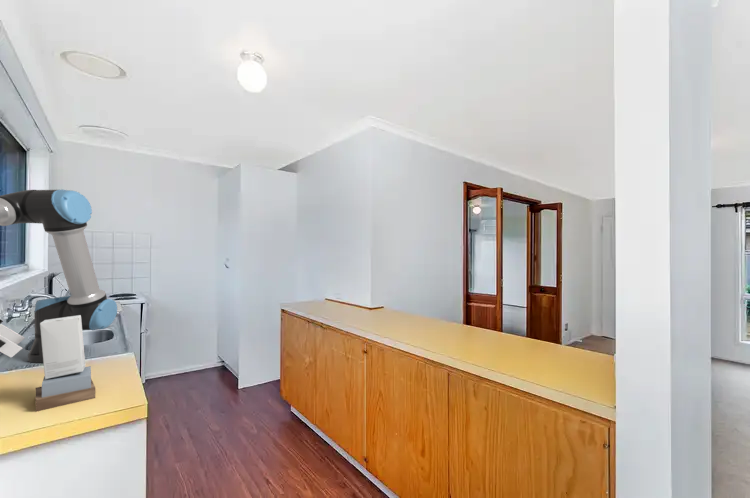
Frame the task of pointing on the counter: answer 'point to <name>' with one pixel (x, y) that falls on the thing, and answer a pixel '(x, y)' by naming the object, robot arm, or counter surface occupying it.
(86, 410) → the counter surface
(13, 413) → the counter surface
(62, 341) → the skincare box
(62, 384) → the tower top
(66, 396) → the tower base
